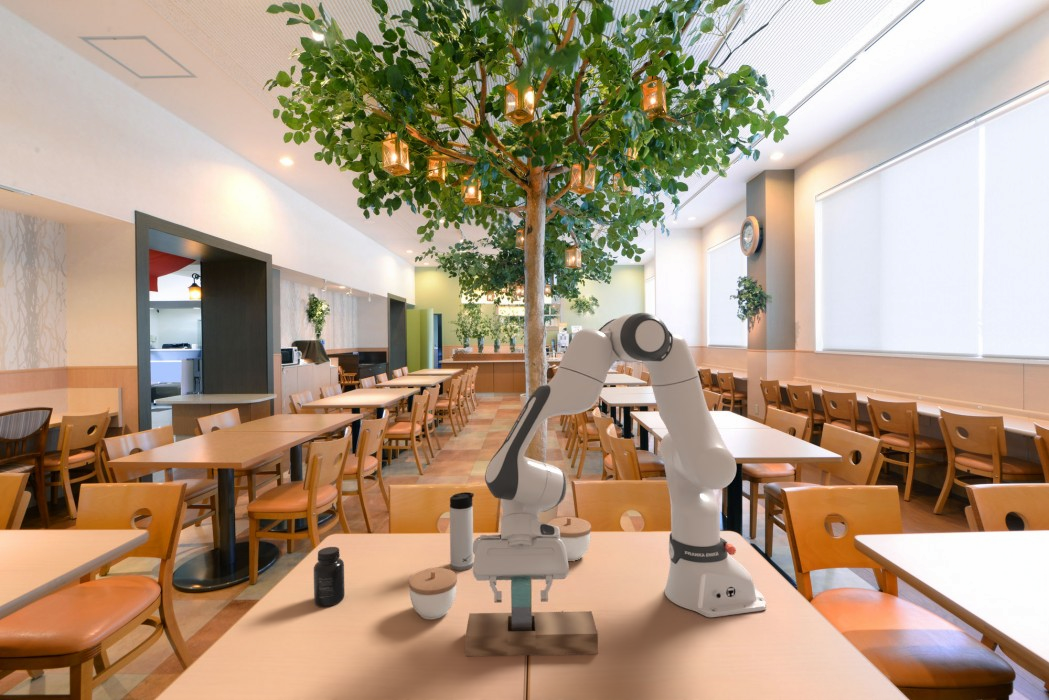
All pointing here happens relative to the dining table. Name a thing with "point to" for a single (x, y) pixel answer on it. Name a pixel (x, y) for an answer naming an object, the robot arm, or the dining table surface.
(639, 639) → the dining table surface
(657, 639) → the dining table surface
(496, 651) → the wooden peg hole block
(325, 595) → the supplement bottle
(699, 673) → the dining table surface
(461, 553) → the travel mug
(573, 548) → the lidded bowl
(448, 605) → the lidded jar
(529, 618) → the teal square peg
